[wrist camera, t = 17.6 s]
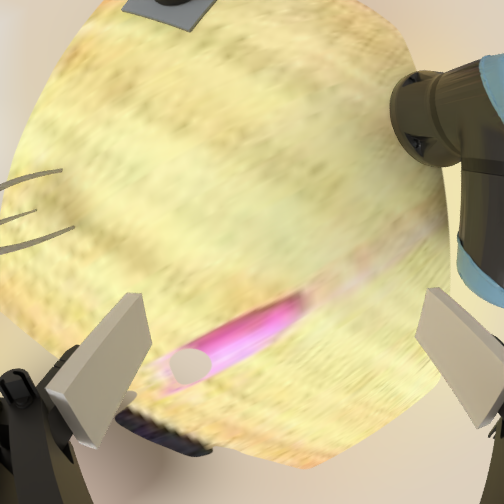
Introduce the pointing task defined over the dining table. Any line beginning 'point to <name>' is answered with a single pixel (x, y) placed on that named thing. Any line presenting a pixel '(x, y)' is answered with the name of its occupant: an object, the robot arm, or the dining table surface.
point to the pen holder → (171, 2)
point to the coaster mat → (170, 12)
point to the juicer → (35, 241)
